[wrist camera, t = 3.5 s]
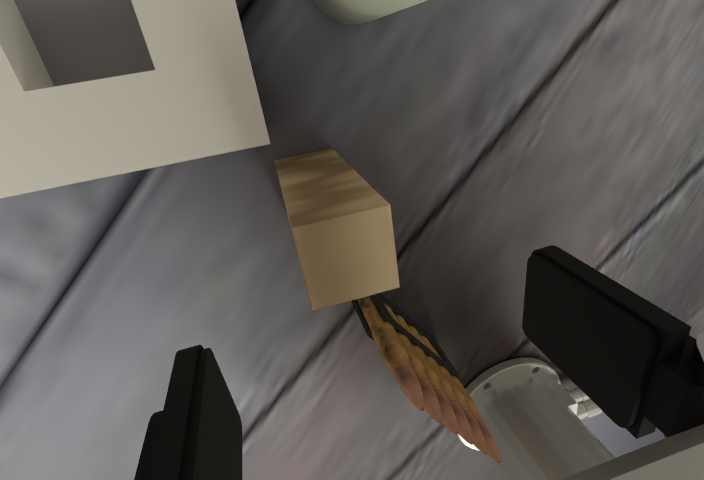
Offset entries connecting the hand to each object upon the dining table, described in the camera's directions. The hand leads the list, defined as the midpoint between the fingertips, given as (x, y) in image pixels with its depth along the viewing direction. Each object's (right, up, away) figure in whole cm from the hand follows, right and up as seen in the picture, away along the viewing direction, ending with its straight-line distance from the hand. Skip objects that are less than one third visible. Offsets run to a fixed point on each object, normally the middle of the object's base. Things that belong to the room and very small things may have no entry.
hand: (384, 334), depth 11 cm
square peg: (-4, +7, +16) cm, 17 cm away
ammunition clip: (+3, -4, +23) cm, 23 cm away
